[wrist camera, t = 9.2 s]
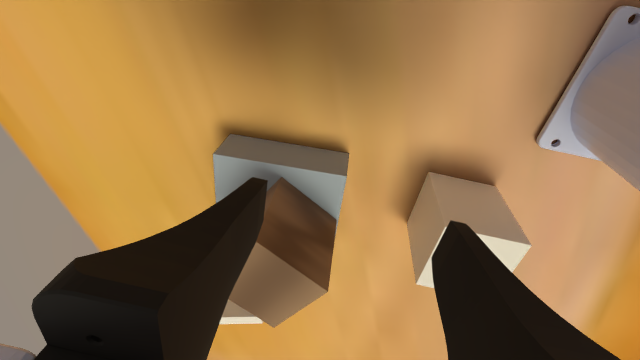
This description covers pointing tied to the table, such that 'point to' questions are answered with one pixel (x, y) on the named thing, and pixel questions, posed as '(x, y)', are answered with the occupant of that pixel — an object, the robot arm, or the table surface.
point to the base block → (282, 169)
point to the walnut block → (287, 257)
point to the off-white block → (462, 221)
